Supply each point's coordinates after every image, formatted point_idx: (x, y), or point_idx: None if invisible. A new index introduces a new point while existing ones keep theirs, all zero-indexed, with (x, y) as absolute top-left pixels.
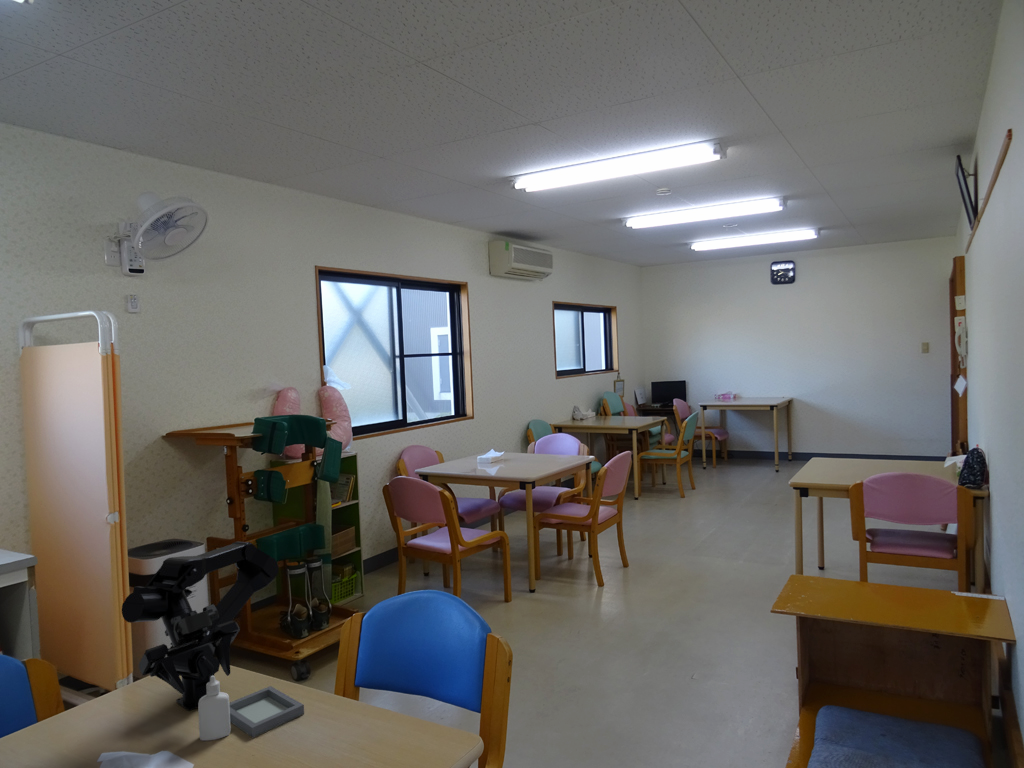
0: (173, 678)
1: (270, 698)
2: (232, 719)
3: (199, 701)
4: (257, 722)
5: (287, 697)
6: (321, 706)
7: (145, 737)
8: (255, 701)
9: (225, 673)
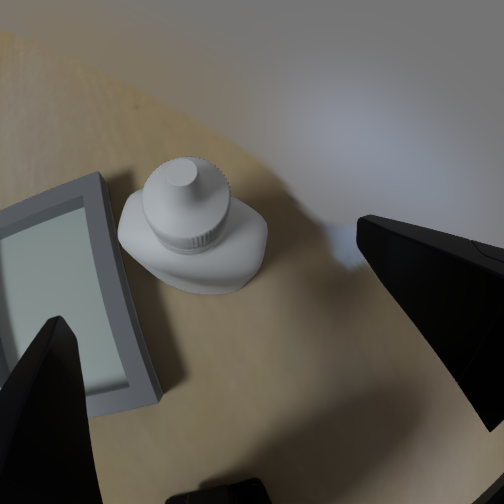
0: (465, 241)
1: None
2: (131, 309)
3: (263, 228)
4: (75, 195)
5: None
6: None
7: (384, 374)
8: None
9: (79, 361)
